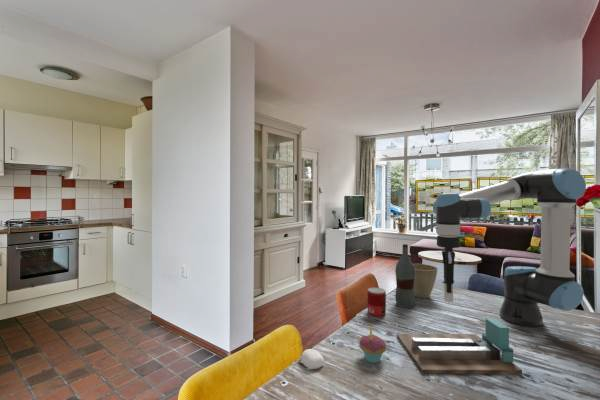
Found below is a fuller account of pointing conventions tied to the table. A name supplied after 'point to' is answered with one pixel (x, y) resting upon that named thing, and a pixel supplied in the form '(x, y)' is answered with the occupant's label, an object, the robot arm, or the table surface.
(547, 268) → the robot arm
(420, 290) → the plant pot
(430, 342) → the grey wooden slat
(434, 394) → the table surface
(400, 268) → the bottle
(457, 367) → the board
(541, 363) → the table surface
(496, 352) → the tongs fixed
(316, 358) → the garlic
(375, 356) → the cupcake
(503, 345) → the teal upright slab
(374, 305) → the canned food
